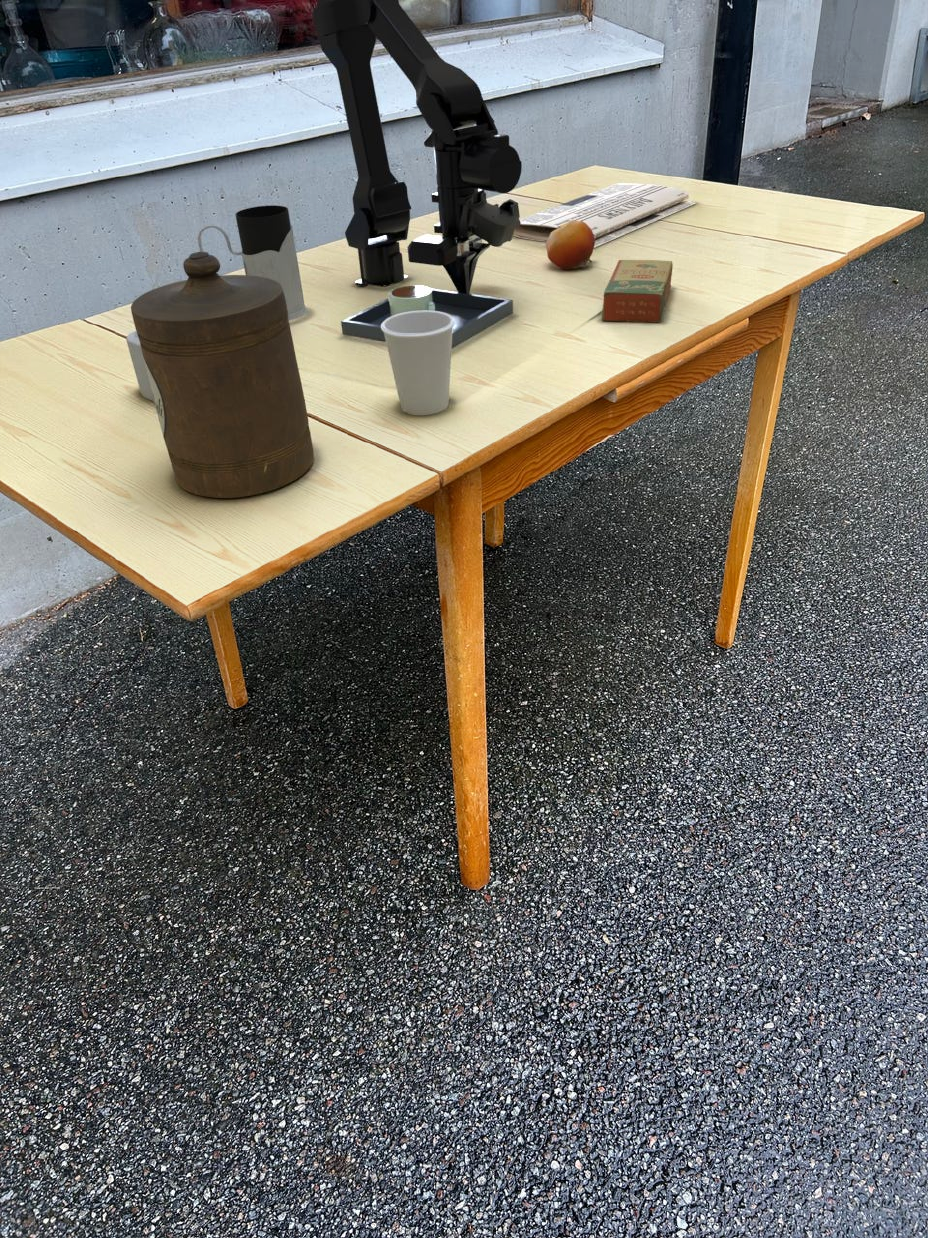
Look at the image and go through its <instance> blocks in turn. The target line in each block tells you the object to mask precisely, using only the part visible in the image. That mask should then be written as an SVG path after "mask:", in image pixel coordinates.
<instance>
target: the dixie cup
mask: <svg viewBox="0 0 928 1238" xmlns="http://www.w3.org/2000/svg"><path fill="white" fill-rule="evenodd" d="M454 324H455V320H454V318H453V317H452V316H450V315H449V314H446V313H443V312H439V311H430V310H420V311H410V312H404V313H400V314H396V315H393V316H391V317H389V318H387V319H386V320H385V321H384V322H383V323H382V324H381V330H382V331H383V332H384V336H385V340H386V342H385V343H386V348H387V352H388V357H389V361H390V366H391V369H392V370H391V371H392V374H393V378H394V379H393V380H394V383H395V387H396V392H397V397H398V401H399V405H400V408H401V410H402V412H404V413H406V414H408V415H412V416H429V415H430V416H431V415H435V414H438V413H441V412H443V411H445V410H446V409H447V408H448V407H449V405H450V404H449V403H450V387H451V385H450V383H451V368H452V367H451V365H452V349H453V348H452V332H453V326H454Z"/></svg>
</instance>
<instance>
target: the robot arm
mask: <svg viewBox="0 0 928 1238" xmlns="http://www.w3.org/2000/svg"><path fill="white" fill-rule="evenodd" d="M406 12H407V11H405V10H404V9H403V7H402V6H401V4H400V2H399V0H317V2H316V6H315V7H314V9H313V11H312V23H313V24H312V25H313V26H314V30H315V33H316V35H317V39H318V42H319V45H320V48H321V49H320V50H321V51H322V52H323V54H324V56H325V57H326V58H327V59H328V61H329V62H330V63H331V64H332V66H333V67H334V68H335V70H336V73H337V77H338V82H339V87H340V93H341V97H342V103H343V108H344V113H345V117H346V122H347V127H348V133H349V138H350V143H351V147H352V153H353V157H354V163H355V167H356V172H357V181H356V184H355V187H354V191H353V194H352V207H353V215H352V217H351V219H350V221H349V223H348V226H347V228H346V229H345V232H344V235H345V238H346V243H347V245H348V247H350V248H353V249H357V255H358V256H357V257H358V261H359V262H358V263H359V271H360V279H358V280H355V282H354V283H355V285H356V286H361V287H368V286H376V287H383V288H386V287H389V286H391V285H393V284H397V283H398V282H401V281H403V280H404V279H406V278H409V275H408V274H405V273H404V261H403V260H404V259H403V254H402V252H401V248H400V242H401V241H407V240H408V235H409V229H410V228H409V227H410V221H411V210H412V206H411V203H410V200H409V194H408V186H407V184H406V183H405V181H403V180H402V181H399V180H398V179H397V177H396V176H395V175H394V174H393V173H392V171H391V168H390V163H389V162H390V161H389V157H388V151H387V147H386V142H385V136H384V130H383V126H382V125H383V124H382V121H381V114H380V110H379V105H378V104H379V103H378V98H377V93H376V88H375V83H374V77H373V72H372V65H371V61H372V57H373V54H374V50H375V47H376V43H377V40H378V41H379V42H380V44H381V45H382V46H383V48H384V49H385V50H386V52H387V53H388V55H389V56H390V57H391V58H392V60H393V61H394V62H395V63H396V65H397V66H398V67H399V69H400V70H401V72H402V73H403V74H404V75H405V77H406V78H407V79H408V81H410V83H411V85H412V87H413V88H414V91H415V105H416V107H417V108H418V110H419V112H420V114H421V115H422V118H423V119H424V121H425V123H426V125H427V126H428V127H429V129H430V130H431V132H430V133H429V135H428V136H427V137H426V138H425V139H424V141H423V145H424V147H426V148H433V151H434V155H433V156H434V167H435V180H436V192H434V193H431V194H430V195H431V203H436V204H438V216H439V217H438V219H439V222H438V223H436V224H434V225H433V230H434V231H433V232H434V234H441V235H434V234H424V235H422V236H419V237H417V238H415V239H413V240H411V241H410V243H409V244H408V246H407V258H408V259H407V260H408V262H409V263H414V264H422V265H428V266H430V265H431V266H436V267H442V266H443V268H444V270H445V272H446V273H447V275H448V276H449V279H450V280H451V282H452V284H453V286H454V287H455V289H456V292H460V293H468V294H471V293H470V292H471V289H472V284H473V279H474V276H475V271H476V268H477V265H478V262H479V261H478V260H479V258H480V257H481V256H482V255H483V254H484V252H486V251H487V250H488V249H489V248H490V247H494V248H500V247H502V246H503V245H504V244H505V243H507V242H511V241H512V240H513V233H514V229H515V228H516V227H518V226H520V224H521V222H520V217H521V215H520V208H519V202H517V201H515V200H513V199H511V198H509V199H507V200H505V201H503V202H501V204H500V205H499V204H498V203H495V204H492V203H489V202H488V200H487V192H486V191H488V192H493V193H497V194H509V193H510V192H512V191H513V190H514V189H516V187H517V185H518V183H519V181H520V179H521V175H522V167H523V166H522V165H523V163H522V160H521V158H520V155H519V153H518V151H517V149H515V147H514V146H511V145H510V135H509V134H499V131H498V127H497V126H496V124H495V120H494V118H493V117H492V115H491V113H490V110H489V108H488V106H487V104H486V102H485V100H484V98H483V94H482V91H481V89H480V87H479V85H478V84H477V82H475V80H474V79H473V78H471V77H470V76H469V75H468V74H467V73H466V72H465V71H463V69H461V68H459V67H457V66H455V65H453V64H451V63H448V62H447V61H445V60H444V59H443V58H442V57H441V56H440V55H439V54H438V52H437V51H436V50H435V48H434V47H433V45H431V43H430V42H429V41H428V40H427V38H426V37H425V36H424V34H423V33H422V32H421V31H420V29H419V28H418V26H417V25H416V24H415V23H414V22H413V20H412V19H411V17H410V16H409V15H408V14H407V13H406ZM483 240H484V241H485V242H483ZM486 242H487V243H486Z"/></svg>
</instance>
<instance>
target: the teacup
mask: <svg viewBox="0 0 928 1238" xmlns="http://www.w3.org/2000/svg"><path fill="white" fill-rule="evenodd" d="M432 289H433V288H432ZM432 289H431V287H428V286H425V285H418V284H417V285H415V284H414V285H405V286H399V287H396V288H393V289H391V290H389V292H388V298H389V304H390V313H391V316H393V315H396V314H400V313H404V312H410V311H420V310H430V311H435V304H434V303H433V296H432Z"/></svg>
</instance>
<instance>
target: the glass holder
mask: <svg viewBox="0 0 928 1238" xmlns="http://www.w3.org/2000/svg"><path fill="white" fill-rule="evenodd" d="M234 216H235V221H236V226H237V231H238V235H239V242H240V247H241V251H234V250H233V249H232V245H231V240H230V238H229V236H228V233H227V232H226V230H224V228H222V227H220V226H219V225H217V224H207V225H205V226H203V227H202V228H201V229H200V230H199V233H198V235H197V242H198V248H199V249H198V250H199V252H204V249H203V246H202V233H203V232H204V231H205V230H207V229H210V228H213V229H216V230H218V231H219V232H220V233H221V234H222V235H223V237H224V239H225V241H226V244H227V248H228V251H229V252H230V253H231V254H232V255H234V256H241V258H242V263H243V268H244V275H251V276H259V277H265V278H269V279H272V280H275V281H277V282H278V283H280V284H281V286H282V288H283V291H284V295H285V299H286V304H287V310H288V318H289V322H290V321H292V320H296V319H299V318H301V317H303V316H304V315H306V314H307V313H309V310H308V308H307V307H306V304H305V298H304V291H303V285H302V278H301V273H300V272H301V271H300V267H299V260H298V254H297V248H296V247H297V246H296V242H295V236H294V229H293V225H292V224H291V219H290V217H291V216H290V211H289V208H288V207H287V206H285V205H274V204H273V205H271V204H269V205H258V206H251V207H247V208H243V209H241V210H239V211H237V212H235V215H234Z"/></svg>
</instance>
